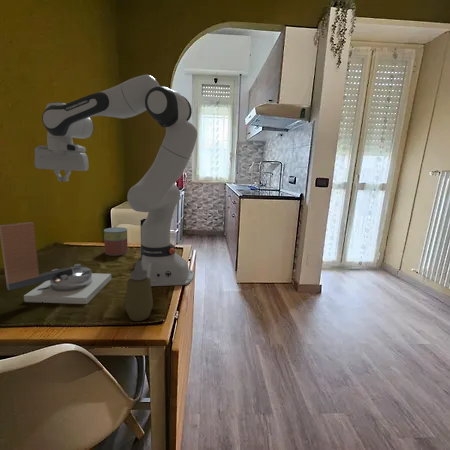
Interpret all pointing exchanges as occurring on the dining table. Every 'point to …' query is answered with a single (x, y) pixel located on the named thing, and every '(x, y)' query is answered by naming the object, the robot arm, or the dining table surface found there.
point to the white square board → (68, 292)
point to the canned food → (115, 241)
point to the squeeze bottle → (139, 294)
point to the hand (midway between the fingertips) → (63, 181)
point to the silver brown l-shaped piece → (34, 262)
